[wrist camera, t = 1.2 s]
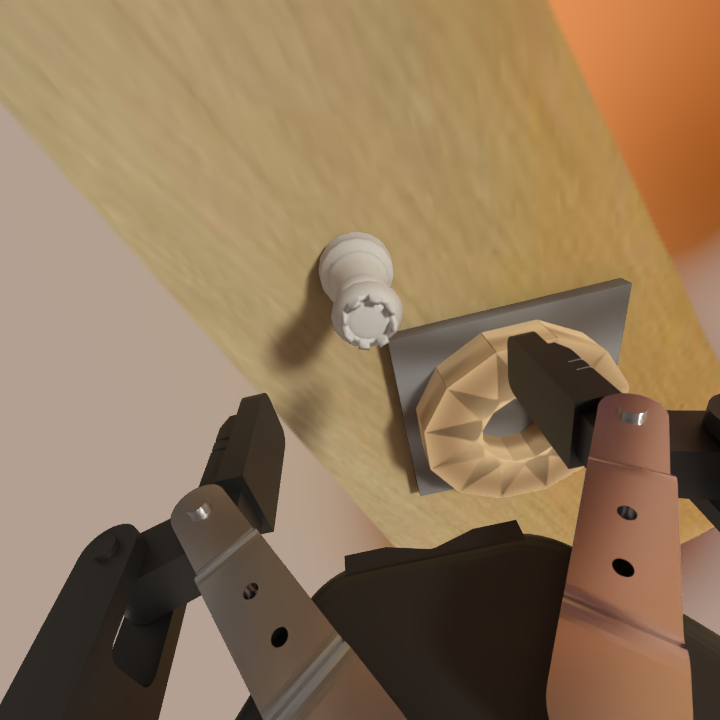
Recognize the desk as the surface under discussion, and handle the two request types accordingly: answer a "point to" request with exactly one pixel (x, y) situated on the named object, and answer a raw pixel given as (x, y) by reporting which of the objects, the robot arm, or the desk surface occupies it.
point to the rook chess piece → (361, 289)
